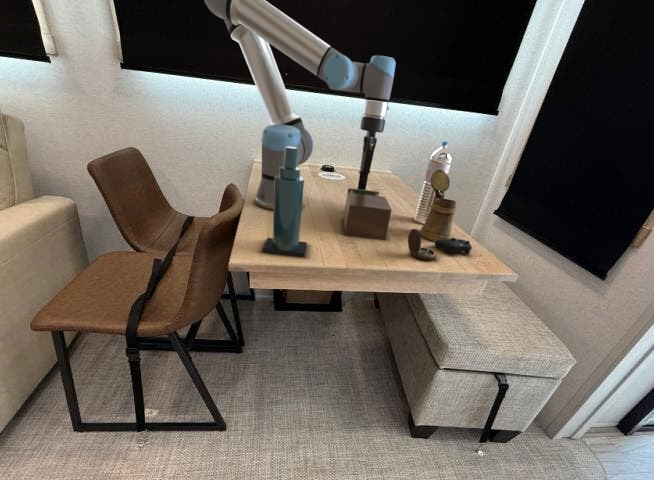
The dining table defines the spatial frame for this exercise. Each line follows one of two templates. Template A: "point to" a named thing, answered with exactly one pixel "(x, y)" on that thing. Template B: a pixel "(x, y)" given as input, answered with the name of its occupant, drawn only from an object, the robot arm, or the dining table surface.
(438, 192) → the wooden mug
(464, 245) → the game controller
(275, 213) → the bottle
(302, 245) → the mat
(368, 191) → the drawer
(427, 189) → the water bottle
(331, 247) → the dining table surface
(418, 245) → the compass
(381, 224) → the brown wooden box
